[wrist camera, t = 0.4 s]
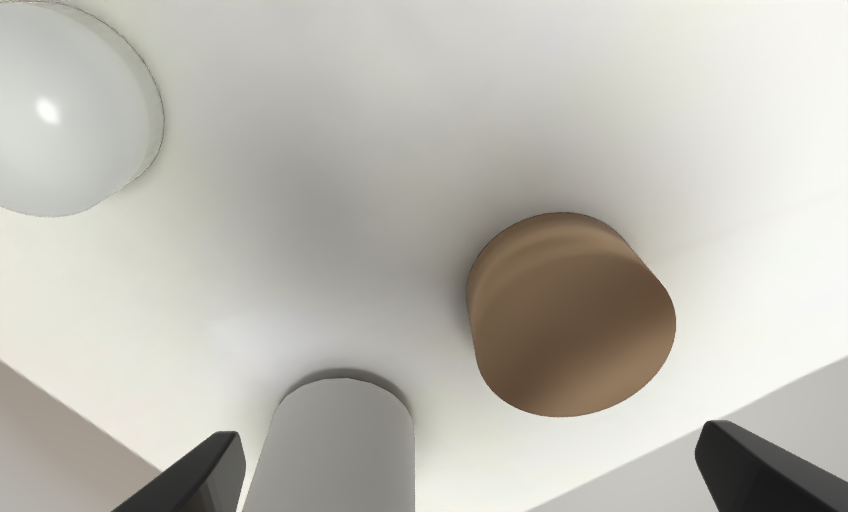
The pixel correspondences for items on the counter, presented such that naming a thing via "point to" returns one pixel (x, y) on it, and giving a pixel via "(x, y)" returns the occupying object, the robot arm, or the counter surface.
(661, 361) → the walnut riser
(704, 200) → the counter surface
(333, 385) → the can
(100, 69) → the white domed puck
